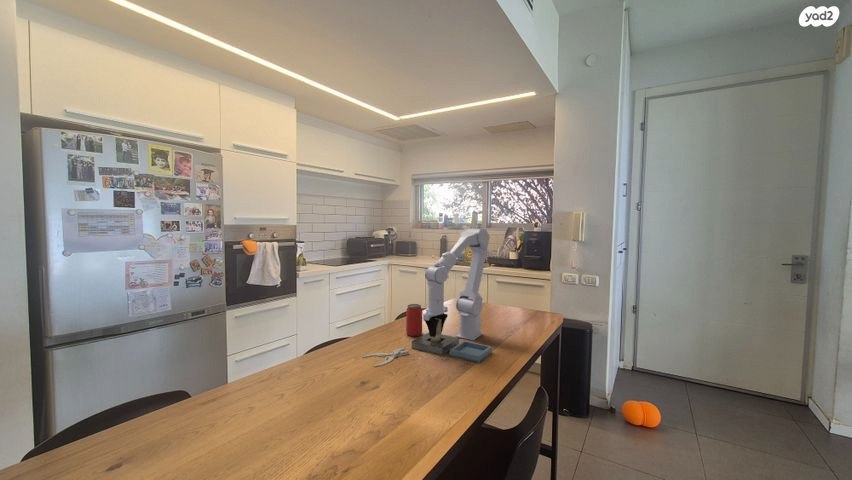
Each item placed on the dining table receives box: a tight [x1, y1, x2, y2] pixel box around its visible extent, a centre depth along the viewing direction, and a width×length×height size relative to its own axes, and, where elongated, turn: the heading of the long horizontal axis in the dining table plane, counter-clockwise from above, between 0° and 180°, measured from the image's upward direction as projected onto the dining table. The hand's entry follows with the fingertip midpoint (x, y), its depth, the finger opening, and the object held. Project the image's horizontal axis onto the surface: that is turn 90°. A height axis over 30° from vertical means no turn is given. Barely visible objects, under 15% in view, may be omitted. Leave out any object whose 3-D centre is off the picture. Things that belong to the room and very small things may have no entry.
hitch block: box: [411, 332, 460, 356], centre depth 129 cm, size 13×13×2 cm
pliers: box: [361, 347, 410, 368], centre depth 118 cm, size 10×2×15 cm
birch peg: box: [430, 319, 442, 343], centre depth 129 cm, size 4×4×9 cm
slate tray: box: [449, 340, 493, 364], centre depth 121 cm, size 11×11×2 cm
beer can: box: [405, 303, 423, 337], centre depth 142 cm, size 7×7×12 cm
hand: (435, 334), depth 129 cm, fingers closed on birch peg, 4 cm apart
